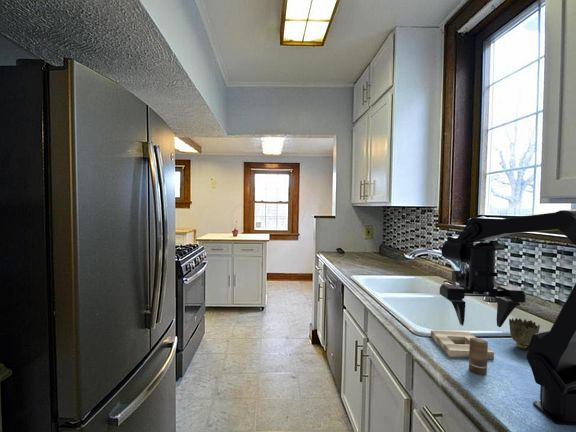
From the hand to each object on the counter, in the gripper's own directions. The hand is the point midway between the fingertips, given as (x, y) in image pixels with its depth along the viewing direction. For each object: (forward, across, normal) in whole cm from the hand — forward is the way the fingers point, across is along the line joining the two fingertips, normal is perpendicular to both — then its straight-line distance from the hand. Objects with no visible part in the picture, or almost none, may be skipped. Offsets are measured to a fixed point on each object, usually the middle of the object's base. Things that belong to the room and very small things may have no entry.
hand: (480, 325), depth 80 cm
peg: (+12, 0, 0) cm, 12 cm away
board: (+12, -1, -14) cm, 18 cm away
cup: (+12, -20, -15) cm, 28 cm away
